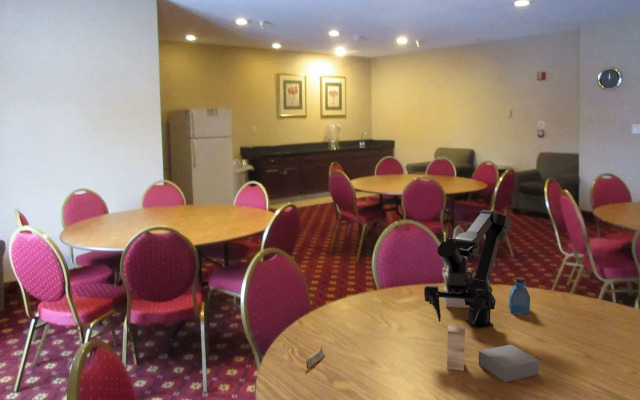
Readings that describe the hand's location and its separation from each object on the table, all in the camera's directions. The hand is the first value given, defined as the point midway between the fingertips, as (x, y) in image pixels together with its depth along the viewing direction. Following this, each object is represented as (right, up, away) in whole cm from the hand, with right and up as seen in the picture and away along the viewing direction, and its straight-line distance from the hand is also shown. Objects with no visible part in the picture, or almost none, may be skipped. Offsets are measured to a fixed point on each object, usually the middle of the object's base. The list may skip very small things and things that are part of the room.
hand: (456, 322), depth 149 cm
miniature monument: (+13, -4, +47) cm, 49 cm away
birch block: (-1, -11, -3) cm, 12 cm away
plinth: (+13, -11, -5) cm, 18 cm away
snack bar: (-40, -12, +1) cm, 42 cm away
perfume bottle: (+32, -5, +38) cm, 50 cm away
